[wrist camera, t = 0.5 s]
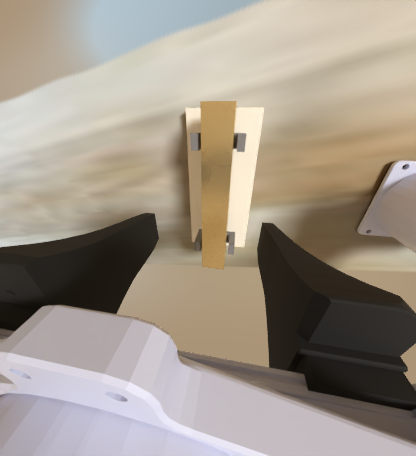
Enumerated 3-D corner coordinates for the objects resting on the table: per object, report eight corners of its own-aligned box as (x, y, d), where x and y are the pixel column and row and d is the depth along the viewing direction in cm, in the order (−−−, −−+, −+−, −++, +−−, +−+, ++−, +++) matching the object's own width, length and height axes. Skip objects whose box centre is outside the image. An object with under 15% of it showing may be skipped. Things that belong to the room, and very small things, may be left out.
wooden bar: (236, 105, 13) (236, 101, 11) (225, 255, 21) (223, 269, 19) (206, 105, 14) (200, 101, 12) (205, 253, 21) (202, 266, 19)
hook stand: (262, 108, 16) (271, 101, 11) (243, 241, 23) (244, 269, 19) (188, 109, 17) (170, 102, 12) (194, 237, 24) (183, 261, 20)
